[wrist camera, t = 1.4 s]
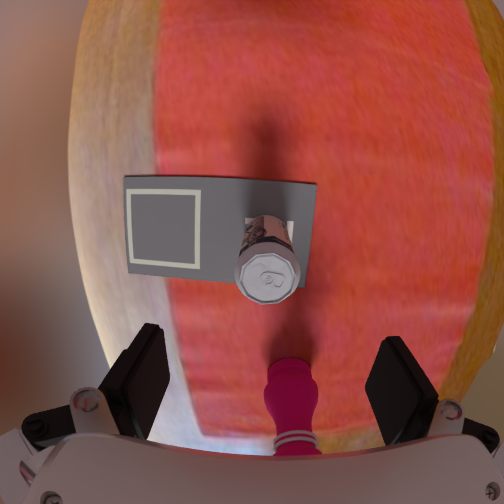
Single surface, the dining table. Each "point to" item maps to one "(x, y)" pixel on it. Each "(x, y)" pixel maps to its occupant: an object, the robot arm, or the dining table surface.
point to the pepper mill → (292, 407)
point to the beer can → (267, 262)
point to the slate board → (208, 223)
